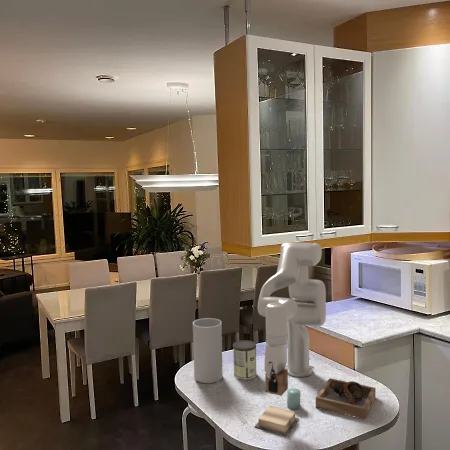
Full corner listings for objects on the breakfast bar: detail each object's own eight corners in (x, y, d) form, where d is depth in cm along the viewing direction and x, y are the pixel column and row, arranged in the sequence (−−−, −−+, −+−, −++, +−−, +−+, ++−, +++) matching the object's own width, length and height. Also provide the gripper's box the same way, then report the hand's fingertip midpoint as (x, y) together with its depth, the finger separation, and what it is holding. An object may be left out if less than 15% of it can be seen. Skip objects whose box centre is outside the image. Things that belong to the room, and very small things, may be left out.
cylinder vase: (201, 369, 204) (200, 316, 201) (226, 373, 199) (225, 319, 197) (189, 381, 193) (187, 325, 190) (215, 386, 188) (214, 328, 185)
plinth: (268, 411, 167) (268, 403, 166) (298, 419, 161) (298, 411, 160) (254, 427, 156) (254, 419, 156) (286, 436, 150) (286, 428, 150)
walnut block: (272, 385, 161) (272, 366, 160) (287, 388, 158) (287, 369, 158) (265, 392, 156) (265, 372, 155) (281, 395, 153) (281, 376, 152)
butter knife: (240, 424, 158) (247, 421, 159) (214, 391, 183) (221, 389, 184) (240, 425, 158) (248, 423, 159) (214, 392, 183) (221, 391, 184)
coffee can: (238, 368, 205) (238, 338, 204) (259, 371, 201) (259, 341, 199) (229, 377, 196) (229, 346, 194) (251, 381, 191) (251, 350, 190)
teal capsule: (290, 401, 174) (290, 387, 173) (302, 405, 171) (302, 390, 170) (285, 407, 169) (285, 392, 169) (297, 410, 167) (297, 395, 166)
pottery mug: (360, 394, 179) (366, 382, 175) (359, 415, 172) (366, 403, 167) (330, 385, 181) (336, 373, 176) (328, 405, 173) (334, 393, 169)
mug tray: (329, 387, 185) (329, 378, 184) (375, 397, 176) (375, 387, 175) (315, 407, 169) (315, 397, 168) (365, 419, 160) (365, 409, 159)
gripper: (276, 329, 165) (276, 376, 166) (256, 344, 150) (256, 395, 151) (295, 332, 161) (295, 380, 163) (276, 348, 146) (277, 400, 148)
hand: (276, 387), depth 157 cm, fingers closed on walnut block, 6 cm apart
